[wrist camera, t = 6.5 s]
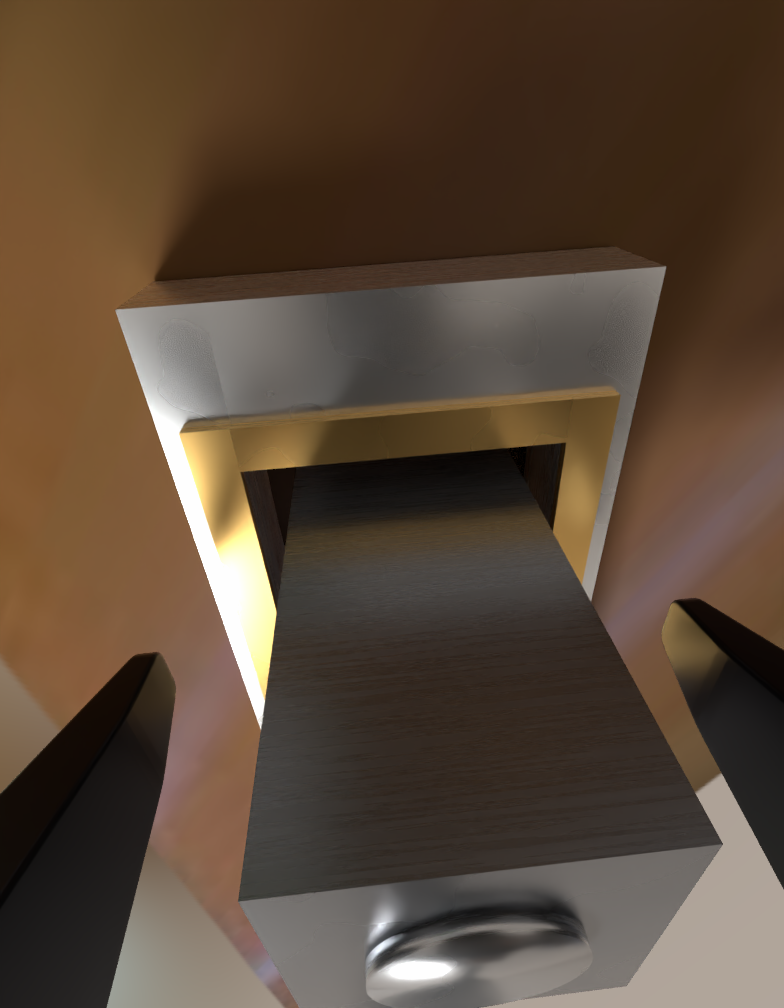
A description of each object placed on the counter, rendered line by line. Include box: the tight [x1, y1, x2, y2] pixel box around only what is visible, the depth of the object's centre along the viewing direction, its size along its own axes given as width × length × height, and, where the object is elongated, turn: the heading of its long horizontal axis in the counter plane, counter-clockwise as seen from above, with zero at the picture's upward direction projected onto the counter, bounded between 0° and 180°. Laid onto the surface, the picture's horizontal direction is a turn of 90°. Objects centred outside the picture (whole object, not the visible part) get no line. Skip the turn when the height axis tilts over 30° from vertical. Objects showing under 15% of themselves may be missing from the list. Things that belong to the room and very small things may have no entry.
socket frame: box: [116, 246, 666, 729], centre depth 15 cm, size 24×8×2 cm, turn 3°
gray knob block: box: [238, 448, 723, 1008], centre depth 9 cm, size 4×4×8 cm
